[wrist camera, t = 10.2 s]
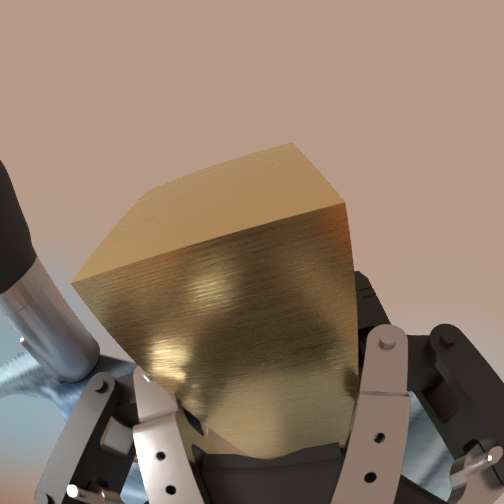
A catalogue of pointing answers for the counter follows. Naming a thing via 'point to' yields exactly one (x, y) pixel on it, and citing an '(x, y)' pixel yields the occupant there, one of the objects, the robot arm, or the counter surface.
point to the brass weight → (239, 299)
